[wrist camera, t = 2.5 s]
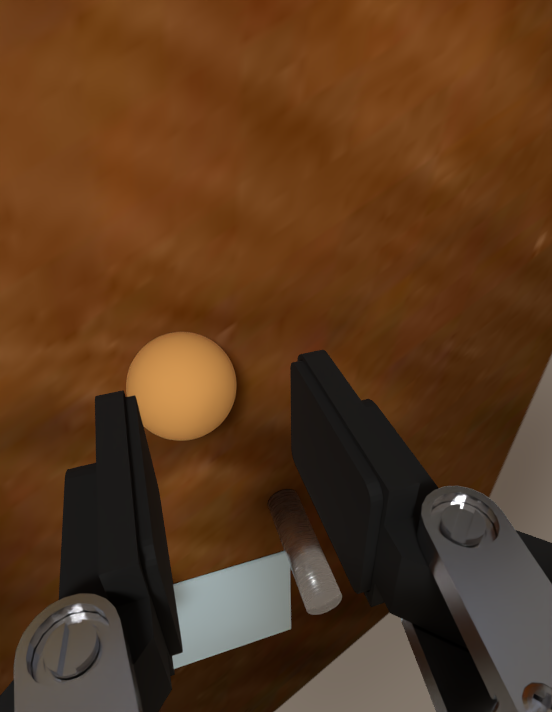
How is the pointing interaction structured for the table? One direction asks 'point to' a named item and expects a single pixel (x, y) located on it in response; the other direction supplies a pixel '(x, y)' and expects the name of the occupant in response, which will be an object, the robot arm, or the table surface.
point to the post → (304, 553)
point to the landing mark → (233, 607)
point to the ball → (182, 385)
